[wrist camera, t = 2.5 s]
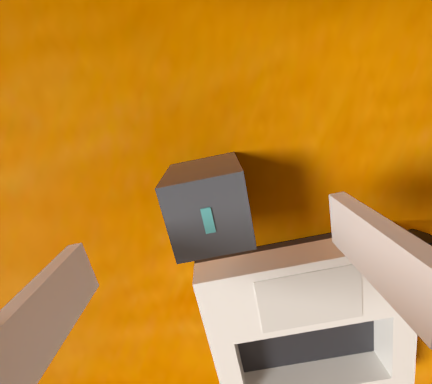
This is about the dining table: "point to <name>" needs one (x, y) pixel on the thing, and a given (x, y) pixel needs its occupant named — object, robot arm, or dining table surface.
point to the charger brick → (206, 208)
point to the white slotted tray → (300, 318)
